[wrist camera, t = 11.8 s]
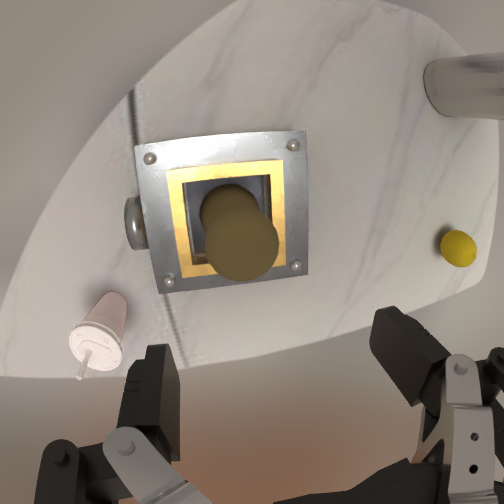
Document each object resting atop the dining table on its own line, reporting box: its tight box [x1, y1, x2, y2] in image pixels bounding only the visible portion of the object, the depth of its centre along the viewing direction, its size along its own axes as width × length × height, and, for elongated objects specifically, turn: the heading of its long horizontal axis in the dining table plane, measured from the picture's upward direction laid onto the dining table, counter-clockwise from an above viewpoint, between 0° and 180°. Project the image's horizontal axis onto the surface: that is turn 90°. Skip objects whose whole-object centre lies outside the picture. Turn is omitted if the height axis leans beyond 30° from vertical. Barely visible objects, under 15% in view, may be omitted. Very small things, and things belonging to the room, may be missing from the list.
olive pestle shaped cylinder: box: [199, 184, 279, 282], centre depth 23 cm, size 6×6×11 cm
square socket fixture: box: [124, 131, 308, 294], centre depth 29 cm, size 19×16×6 cm
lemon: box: [440, 230, 477, 267], centre depth 36 cm, size 6×6×8 cm
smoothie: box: [69, 292, 127, 380], centre depth 28 cm, size 6×6×14 cm
